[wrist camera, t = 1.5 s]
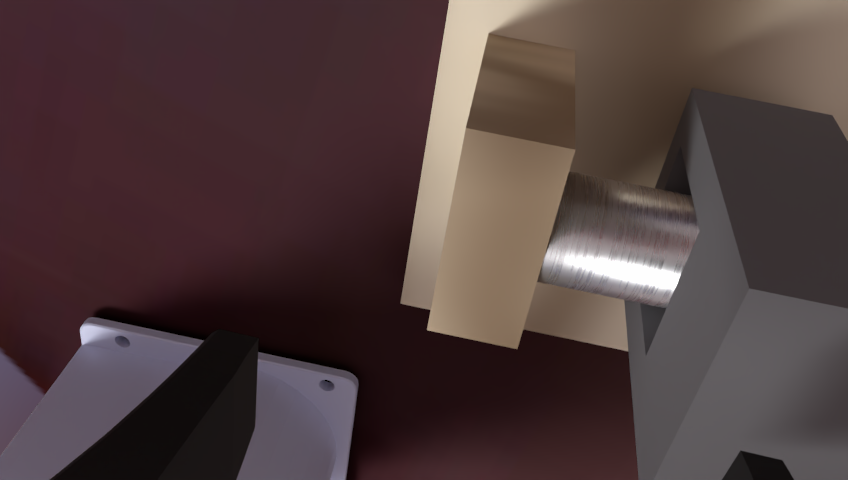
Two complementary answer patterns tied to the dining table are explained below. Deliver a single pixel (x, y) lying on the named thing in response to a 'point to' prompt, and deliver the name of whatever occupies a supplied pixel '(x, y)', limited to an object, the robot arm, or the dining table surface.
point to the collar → (749, 299)
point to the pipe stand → (581, 134)
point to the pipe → (620, 240)
